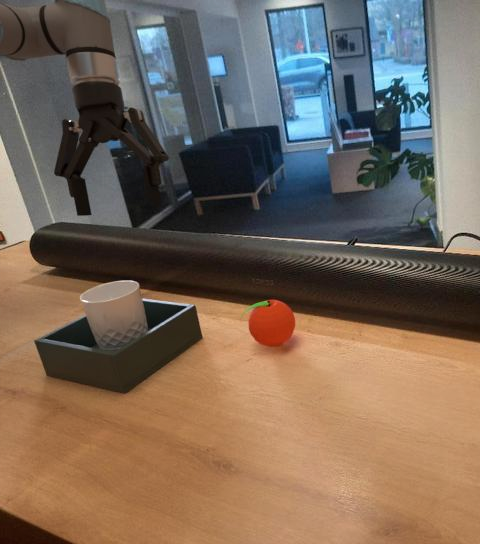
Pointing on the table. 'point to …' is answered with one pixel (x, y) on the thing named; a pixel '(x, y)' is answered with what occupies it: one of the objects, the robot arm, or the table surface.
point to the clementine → (271, 322)
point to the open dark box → (127, 360)
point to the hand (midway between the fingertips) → (119, 210)
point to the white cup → (115, 313)
